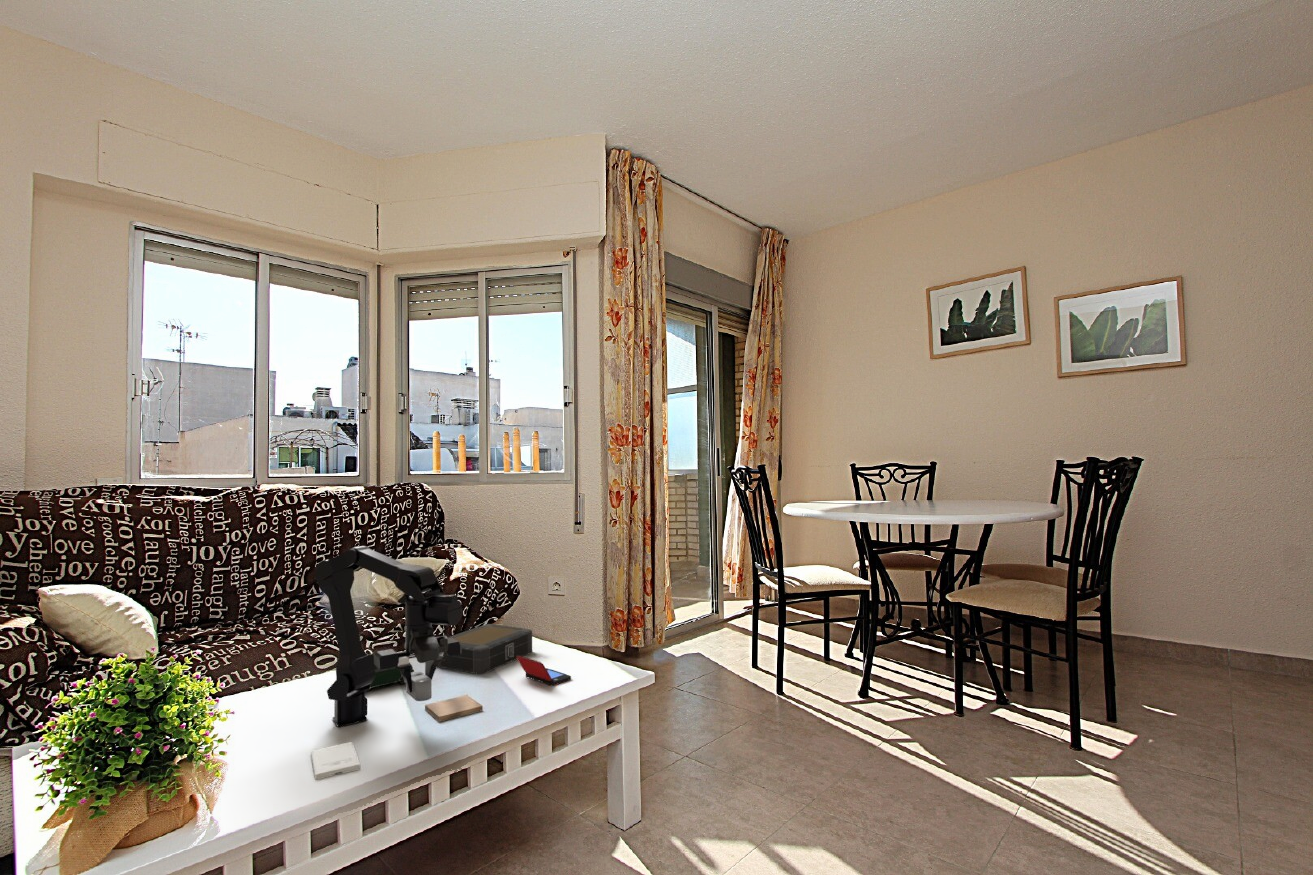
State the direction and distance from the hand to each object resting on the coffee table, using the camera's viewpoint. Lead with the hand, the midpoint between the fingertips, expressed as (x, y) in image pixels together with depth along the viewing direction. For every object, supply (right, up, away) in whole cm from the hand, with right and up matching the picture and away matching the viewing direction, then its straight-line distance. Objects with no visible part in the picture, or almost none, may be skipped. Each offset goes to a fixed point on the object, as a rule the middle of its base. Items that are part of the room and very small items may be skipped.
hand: (418, 690), depth 153 cm
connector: (-1, -1, +1) cm, 2 cm away
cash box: (+1, -12, +54) cm, 56 cm away
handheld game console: (+23, -11, +34) cm, 43 cm away
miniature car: (-22, -11, +31) cm, 40 cm away
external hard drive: (-12, -10, -16) cm, 22 cm away
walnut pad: (+4, -10, +12) cm, 16 cm away
